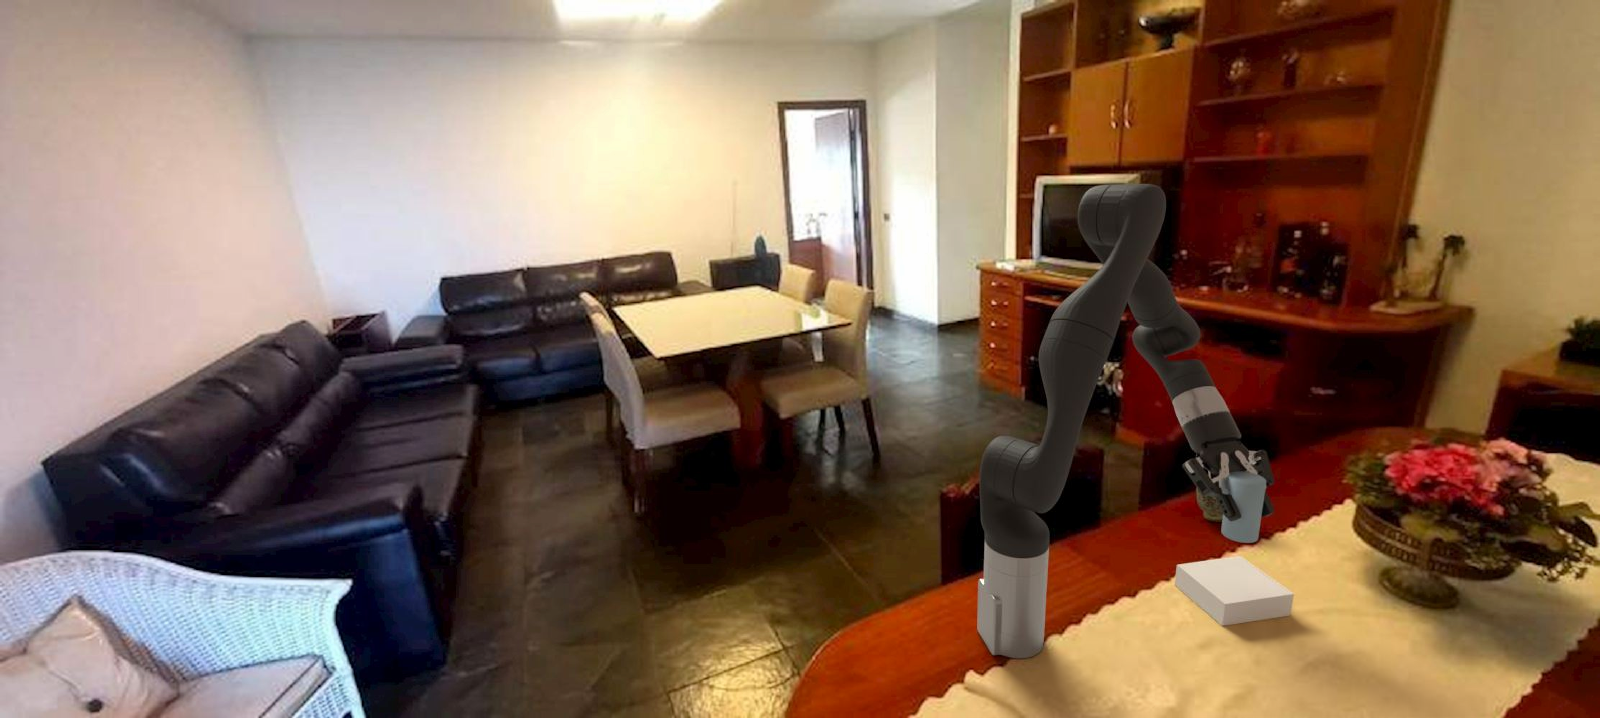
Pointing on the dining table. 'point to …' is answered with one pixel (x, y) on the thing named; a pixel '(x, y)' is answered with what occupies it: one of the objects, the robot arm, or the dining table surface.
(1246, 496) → the blue cylinder
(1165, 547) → the dining table surface
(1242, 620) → the white plinth
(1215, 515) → the cup
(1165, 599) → the dining table surface
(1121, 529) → the dining table surface
